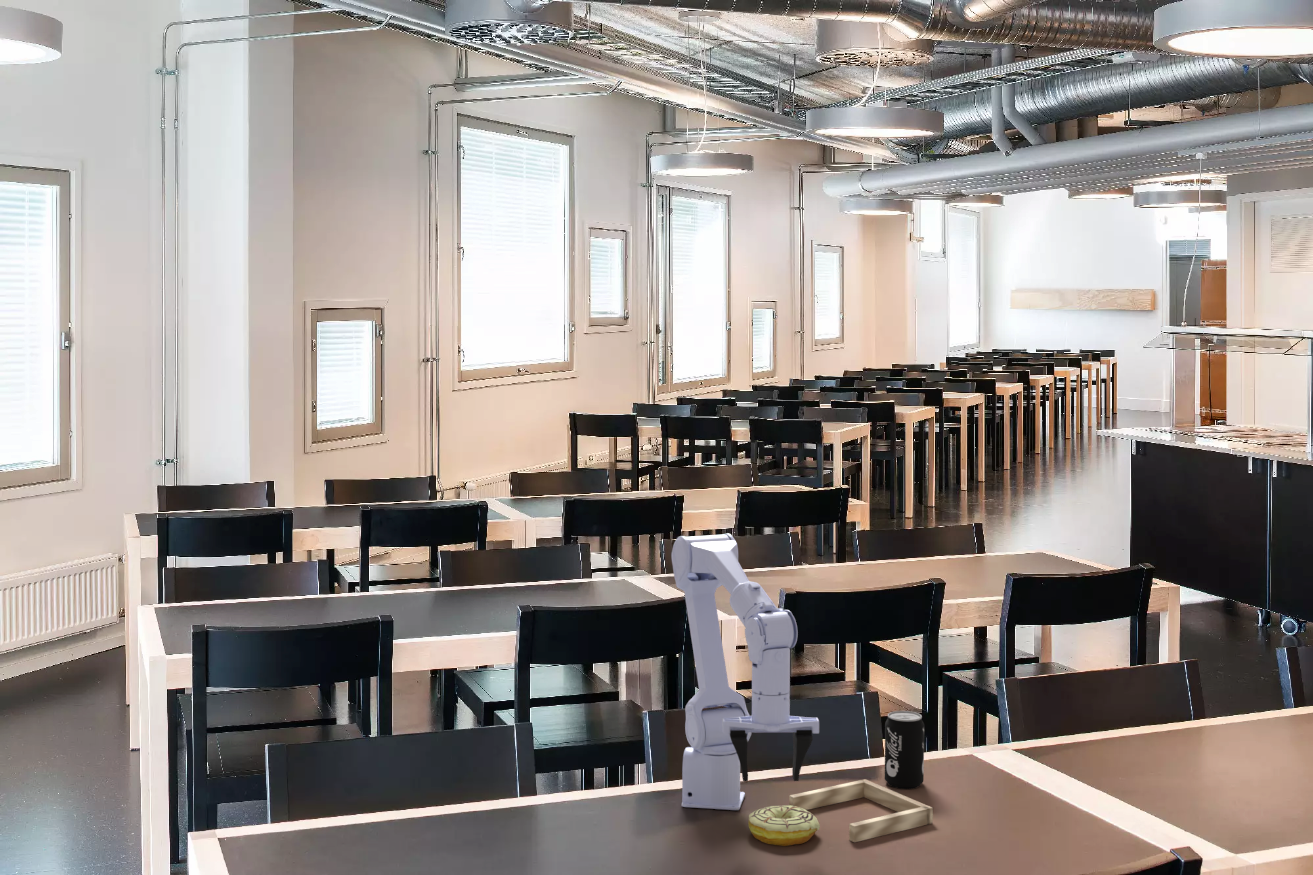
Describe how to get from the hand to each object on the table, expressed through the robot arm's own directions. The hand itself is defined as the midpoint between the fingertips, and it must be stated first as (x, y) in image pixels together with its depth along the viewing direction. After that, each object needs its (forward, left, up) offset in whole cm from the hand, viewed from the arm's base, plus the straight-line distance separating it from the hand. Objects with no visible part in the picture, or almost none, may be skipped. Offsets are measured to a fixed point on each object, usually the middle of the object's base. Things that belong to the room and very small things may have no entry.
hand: (770, 779), depth 208 cm
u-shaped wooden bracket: (+13, +12, -9) cm, 20 cm away
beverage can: (+20, +30, -10) cm, 38 cm away
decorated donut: (+2, +2, -10) cm, 10 cm away
